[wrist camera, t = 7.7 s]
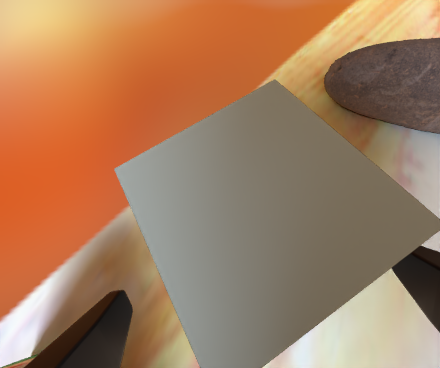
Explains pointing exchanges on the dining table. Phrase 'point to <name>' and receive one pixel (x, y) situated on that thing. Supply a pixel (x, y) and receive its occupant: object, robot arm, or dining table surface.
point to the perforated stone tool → (391, 82)
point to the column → (266, 224)
